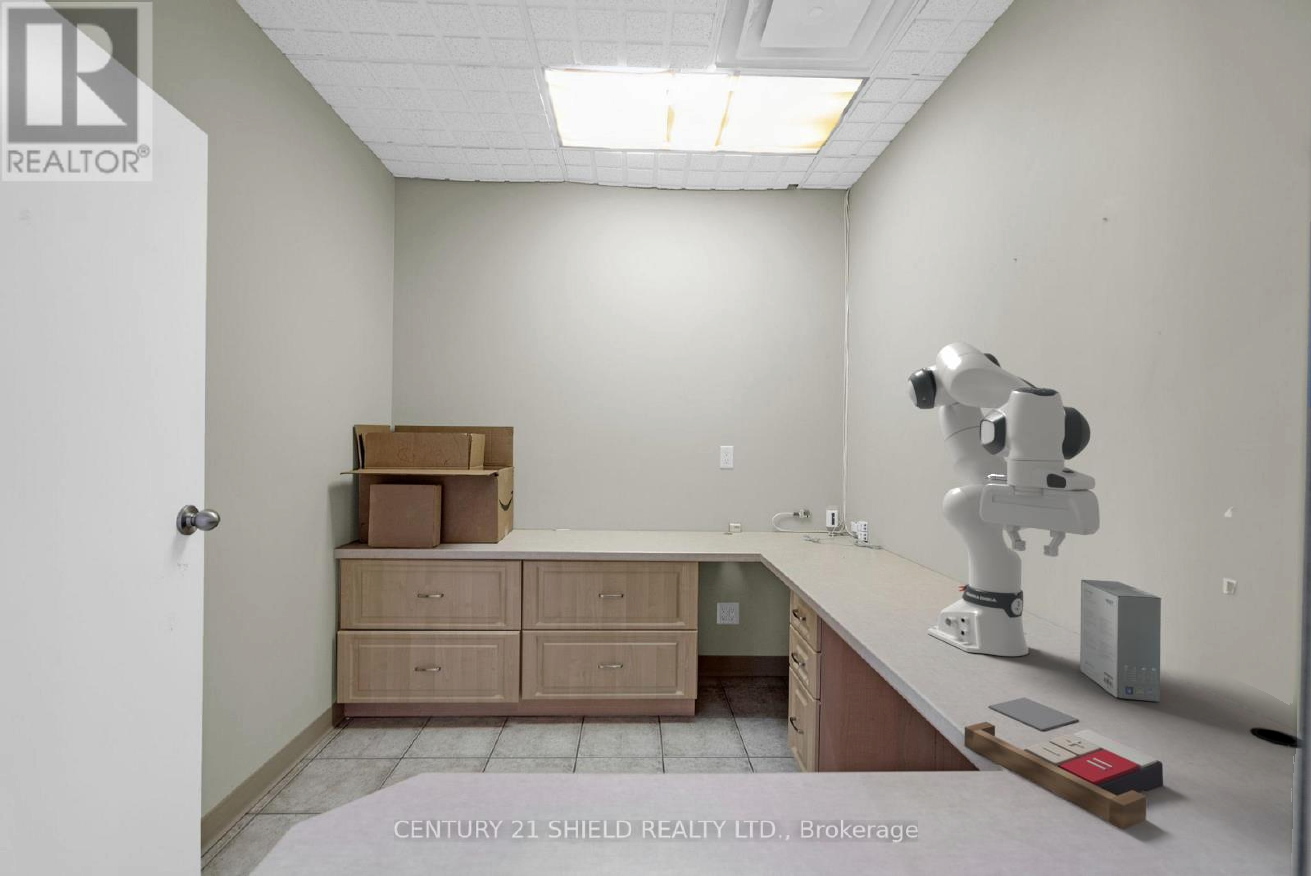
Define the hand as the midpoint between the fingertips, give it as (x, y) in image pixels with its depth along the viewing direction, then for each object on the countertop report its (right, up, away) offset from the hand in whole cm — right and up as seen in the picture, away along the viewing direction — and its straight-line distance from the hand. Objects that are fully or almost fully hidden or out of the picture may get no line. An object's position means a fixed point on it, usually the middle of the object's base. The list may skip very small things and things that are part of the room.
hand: (1034, 553), depth 111 cm
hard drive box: (+25, -30, +14) cm, 41 cm away
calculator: (-4, -30, -21) cm, 36 cm away
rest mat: (0, -29, 0) cm, 29 cm away
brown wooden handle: (-12, -29, -22) cm, 38 cm away
